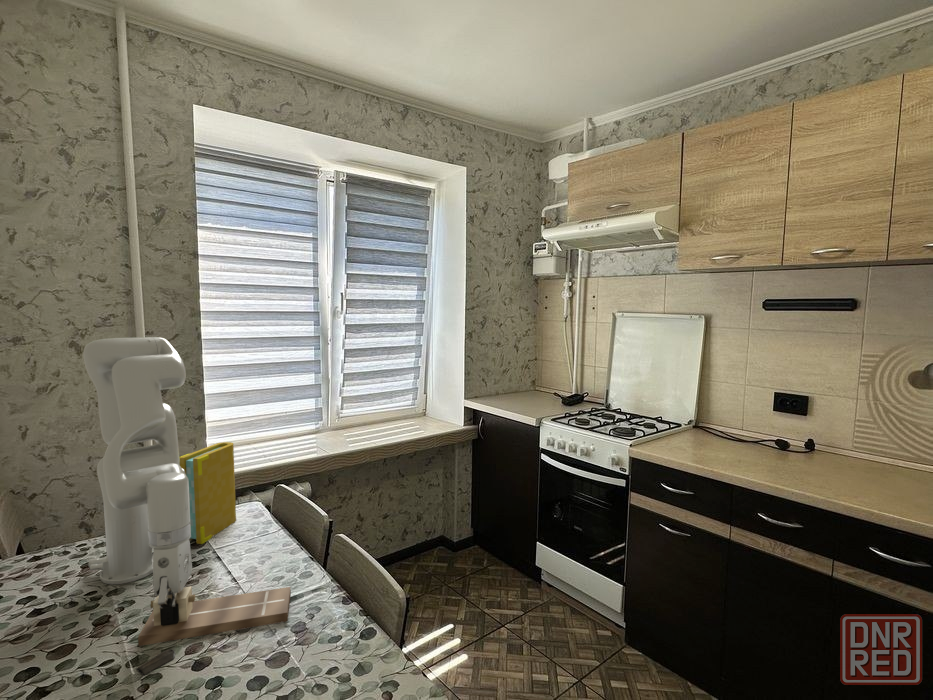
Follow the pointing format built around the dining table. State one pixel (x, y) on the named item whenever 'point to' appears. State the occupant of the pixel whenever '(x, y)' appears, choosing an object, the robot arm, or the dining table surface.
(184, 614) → the cream knobbed box
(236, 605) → the board
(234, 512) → the book
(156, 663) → the block
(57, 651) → the dining table surface
